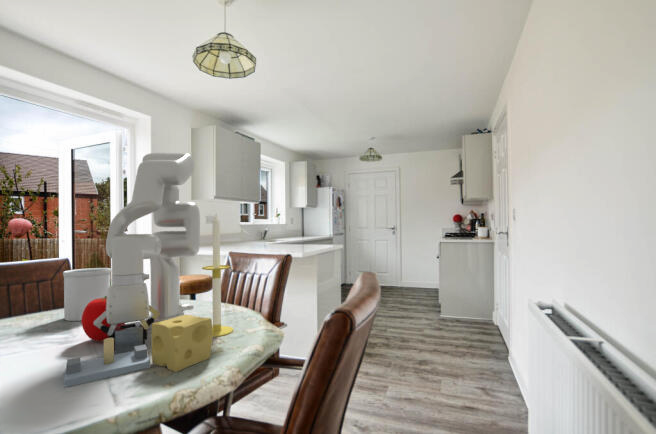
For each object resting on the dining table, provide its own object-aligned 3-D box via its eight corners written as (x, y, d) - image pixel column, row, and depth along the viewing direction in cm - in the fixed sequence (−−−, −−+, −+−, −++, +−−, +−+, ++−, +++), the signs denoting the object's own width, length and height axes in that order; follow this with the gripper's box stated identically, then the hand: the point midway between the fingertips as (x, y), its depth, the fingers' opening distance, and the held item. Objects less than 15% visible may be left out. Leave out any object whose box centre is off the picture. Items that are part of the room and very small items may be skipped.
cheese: (175, 373, 76) (175, 329, 76) (149, 363, 82) (148, 322, 82) (213, 357, 85) (213, 317, 85) (186, 349, 91) (186, 312, 91)
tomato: (72, 343, 97) (72, 298, 97) (109, 332, 107) (109, 291, 107) (99, 348, 93) (99, 301, 93) (134, 335, 103) (134, 293, 103)
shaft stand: (144, 354, 87) (144, 327, 88) (150, 367, 79) (150, 337, 80) (66, 370, 78) (66, 340, 78) (64, 387, 70) (64, 353, 70)
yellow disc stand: (200, 339, 99) (199, 212, 100) (199, 329, 108) (199, 213, 109) (235, 334, 103) (234, 212, 103) (231, 325, 112) (230, 213, 113)
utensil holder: (87, 310, 135) (87, 267, 136) (120, 311, 133) (120, 267, 134) (52, 321, 121) (52, 272, 121) (89, 322, 118) (89, 272, 119)
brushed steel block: (139, 342, 97) (139, 321, 97) (142, 349, 92) (142, 326, 92) (113, 347, 93) (113, 325, 93) (115, 354, 88) (115, 331, 88)
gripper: (160, 275, 101) (160, 335, 100) (89, 282, 91) (89, 348, 90) (164, 278, 95) (165, 342, 94) (89, 285, 85) (89, 357, 84)
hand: (128, 345), depth 92 cm, fingers closed on brushed steel block, 6 cm apart
